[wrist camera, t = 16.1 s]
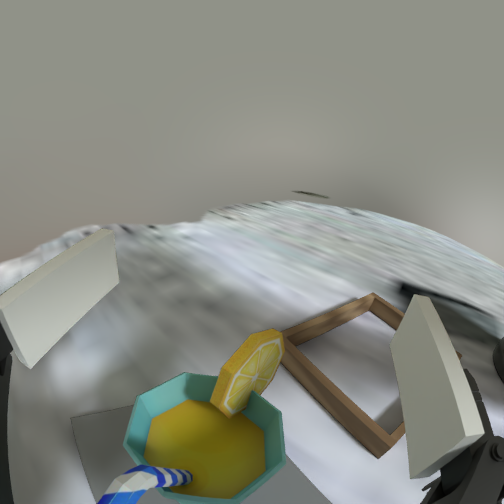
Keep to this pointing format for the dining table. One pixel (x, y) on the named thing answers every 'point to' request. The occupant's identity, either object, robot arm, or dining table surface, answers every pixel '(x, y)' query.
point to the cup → (207, 432)
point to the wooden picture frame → (324, 388)
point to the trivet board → (119, 461)
